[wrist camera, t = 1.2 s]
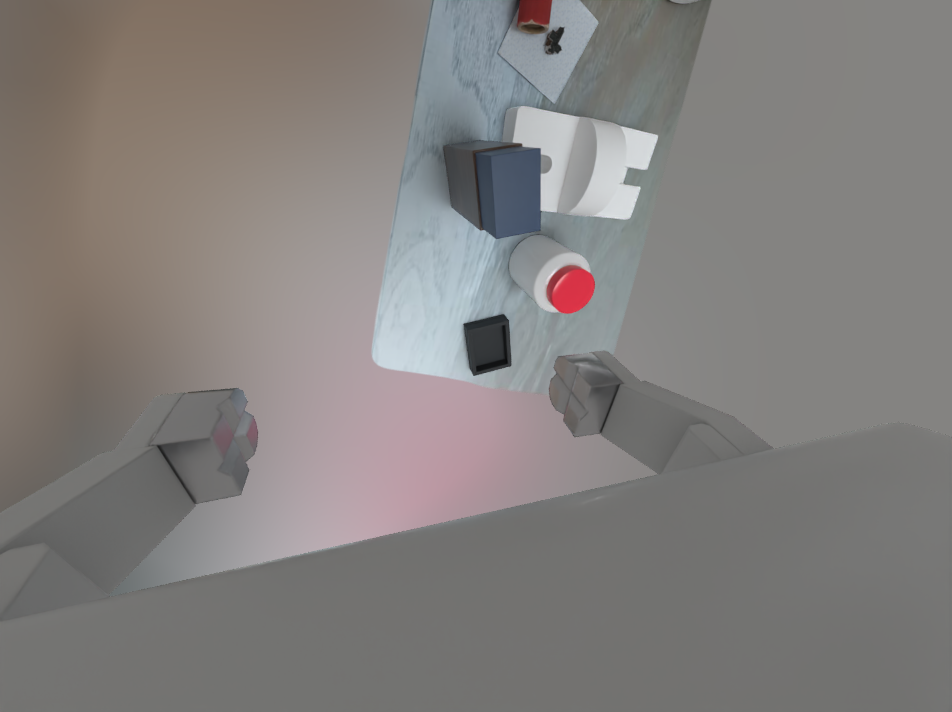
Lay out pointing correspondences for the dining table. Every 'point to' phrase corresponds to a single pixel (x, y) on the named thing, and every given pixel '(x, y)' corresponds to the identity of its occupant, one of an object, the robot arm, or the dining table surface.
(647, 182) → the dining table surface
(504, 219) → the dark blue rectangular block
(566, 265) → the pill bottle
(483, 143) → the dark brown tall block
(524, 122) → the slotted mounting bracket
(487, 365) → the dark rectangular tray
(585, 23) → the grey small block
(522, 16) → the dynamite stick
